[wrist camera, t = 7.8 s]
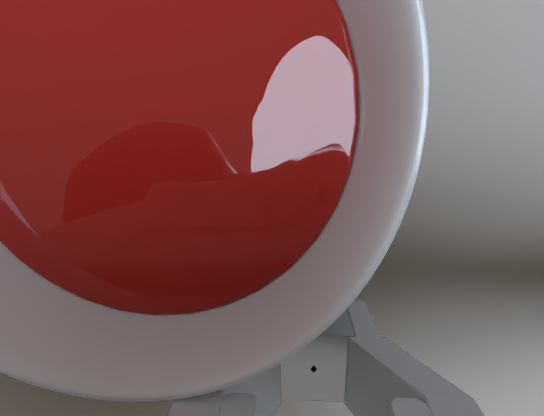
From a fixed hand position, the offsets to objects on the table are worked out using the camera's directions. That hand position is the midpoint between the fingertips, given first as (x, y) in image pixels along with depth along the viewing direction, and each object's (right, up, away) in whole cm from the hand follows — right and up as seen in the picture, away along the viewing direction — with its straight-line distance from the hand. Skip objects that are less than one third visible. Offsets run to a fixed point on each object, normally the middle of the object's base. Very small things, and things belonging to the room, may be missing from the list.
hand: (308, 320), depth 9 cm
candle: (-3, +6, +1) cm, 7 cm away
